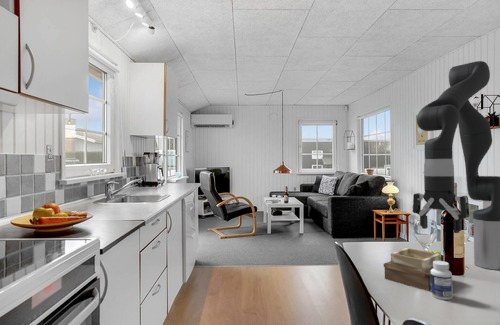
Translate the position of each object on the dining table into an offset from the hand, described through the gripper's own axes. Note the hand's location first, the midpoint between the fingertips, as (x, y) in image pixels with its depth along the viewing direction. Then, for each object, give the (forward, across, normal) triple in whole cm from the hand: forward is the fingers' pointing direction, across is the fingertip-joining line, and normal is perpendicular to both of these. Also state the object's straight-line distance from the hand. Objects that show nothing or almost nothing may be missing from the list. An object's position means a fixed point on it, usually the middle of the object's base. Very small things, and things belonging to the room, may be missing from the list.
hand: (440, 230), depth 93 cm
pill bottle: (+19, 0, 0) cm, 19 cm away
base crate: (+19, +11, -8) cm, 23 cm away
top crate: (+14, +11, -8) cm, 20 cm away
